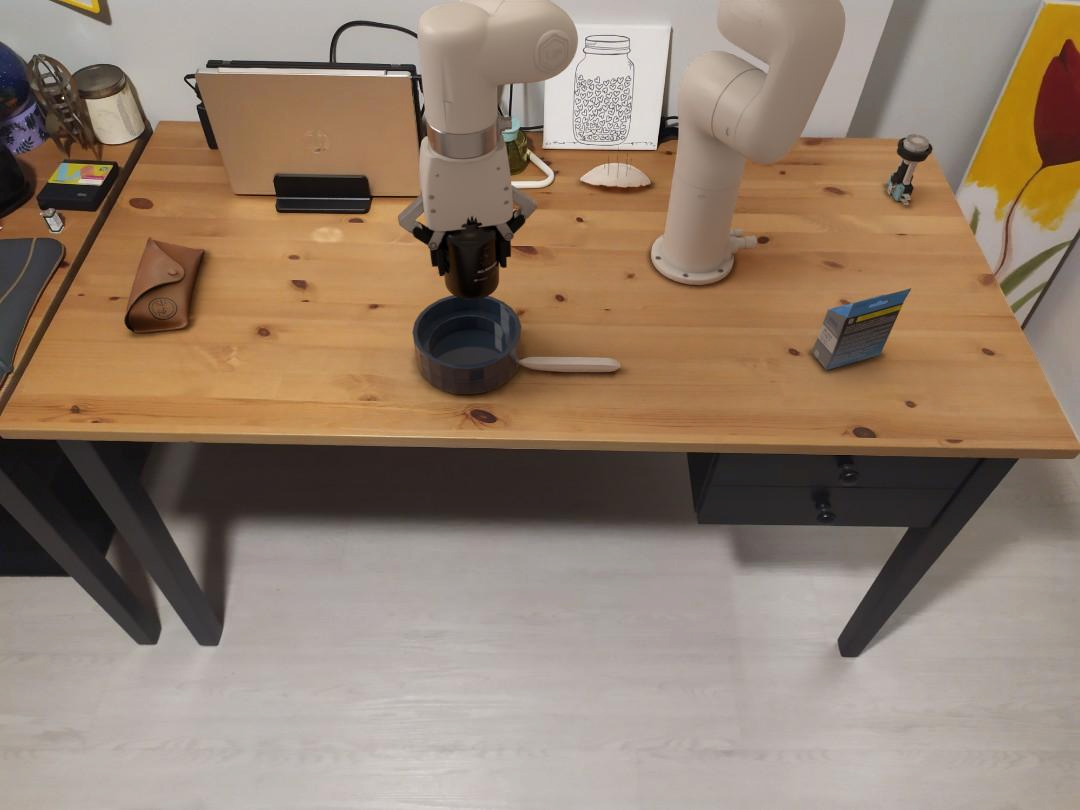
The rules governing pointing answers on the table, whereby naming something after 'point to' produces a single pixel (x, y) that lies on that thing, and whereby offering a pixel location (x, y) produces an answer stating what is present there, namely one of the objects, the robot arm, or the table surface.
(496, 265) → the supplement bottle
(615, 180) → the pincushion
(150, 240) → the sunglasses case
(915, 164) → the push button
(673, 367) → the table surface
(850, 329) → the blue cardboard box
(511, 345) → the bowl
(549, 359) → the pen
